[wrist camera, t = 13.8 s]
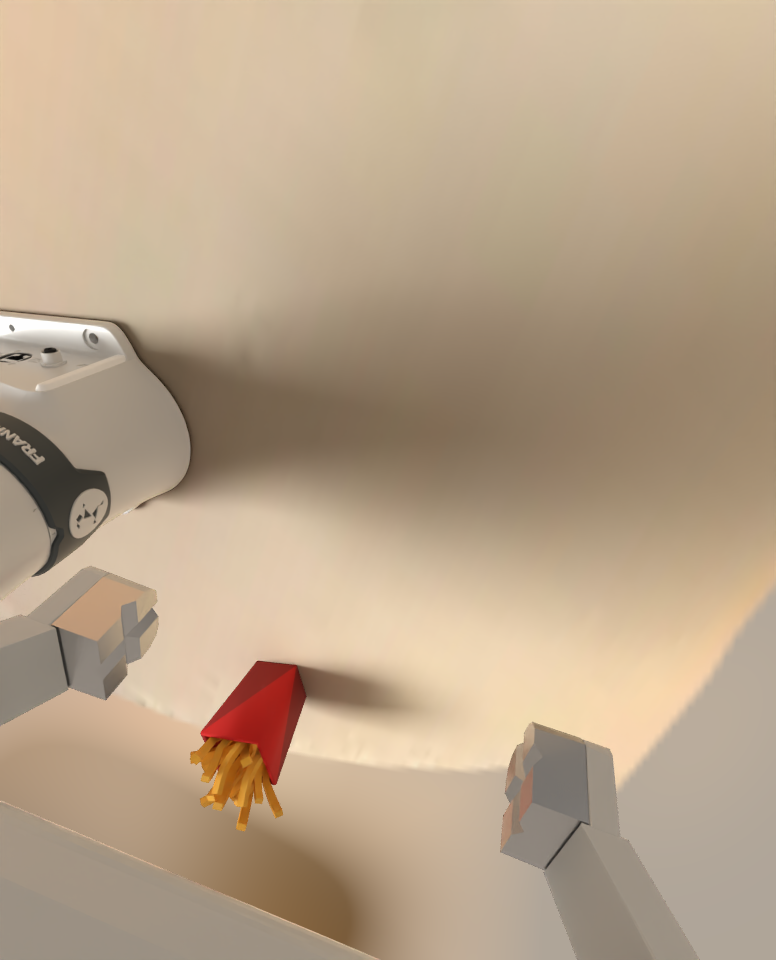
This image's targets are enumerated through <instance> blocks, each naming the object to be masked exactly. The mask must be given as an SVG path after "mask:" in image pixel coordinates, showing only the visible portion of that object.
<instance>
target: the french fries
mask: <svg viewBox="0 0 776 960" xmlns="http://www.w3.org/2000/svg"><path fill="white" fill-rule="evenodd" d="M305 699H306V693H305V690H304V687H303V684H302V681H301V678H300V674H299V671H298V668H297V665H289V664H280V663H271V662H262V661H257V662H256V663H255V664H254V666H253V667H252V668H251V669H250V671H249V672H248V673H247V675H246V676H245V677H244V678H243V680H242V681H241V682H240V683H239V685H238V686H237V687H236V688H235V690H234V691H233V692H232V693H231V695H230V696H229V697H228V698H227V700H226V701H225V702H224V703H223V705H222V706H221V707H220V708H219V710H218V711H217V712H216V714H215V715H214V716H213V717H212V719H211V720H210V721H209V722H208V724H207V725H206V726H205V727H204V729H203V730H202V731H201V736H202V737H203V740H204V742H205V743H204V745H203V746H202V747H201V748H200V749H199V750H198V751H194V752H191V758H190V760H191V764H192V763H195V764H196V765H197V764H198V763H199V762H201V764H202V768H203V770H204V773H203V775H202V778H201V781H202V782H206V783H209V781H210V780H211V779H212V777H213V776H214V774H215V772H216V770H218V773H217V776H216V778H215V782H214V786H213V787H212V789H211V790H210V791H209V793H208V794H207V795H206V796H204V797H203V798H200V801H201V805H202V806H203V807H206V806H208V805H210V804H212V803H214V804H213V809H216V810H220V811H221V810H222V809H223V807H224V805H225V804H226V801H227V800H228V798H229V797H230V798H231V799H232V800H233V801H234V804H235V805H236V806H237V807H241V810H240V814H239V818H238V823H237V826H236V829H238V830H241V831H245V829H246V826H247V822H248V817H249V812H250V807H251V802H252V797H253V793H254V798H255V803H259V804H262V801H263V793H262V783H263V787H264V791H265V794H266V797H267V799H268V802H269V805H270V807H271V809H272V812H273V814H274V816H275V818H277V817H280V816H282V815H283V812H282V808H281V807H280V805H279V802H278V800H277V798H276V795H275V793H274V791H273V788H272V786H271V784H272V785H276V784H277V781H278V778H279V775H280V772H281V769H282V766H283V763H284V760H285V757H286V755H287V752H288V749H289V746H290V743H291V740H292V737H293V734H294V731H295V728H296V725H297V722H298V720H299V717H300V714H301V711H302V708H303V705H304V702H305Z"/></svg>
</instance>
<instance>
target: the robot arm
mask: <svg viewBox="0 0 776 960" xmlns="http://www.w3.org/2000/svg"><path fill="white" fill-rule="evenodd" d="M96 336H97V337H98V339H97V338H96ZM190 452H191V449H190V438H189V433H188V429H187V426H186V423H185V420H184V418H183V415H182V413H181V411H180V409H179V407H178V405H177V404H176V402H175V400H174V399H173V397H172V396H171V394H170V393H169V391H168V390H167V389H166V387H165V386H164V385H163V384H162V383H161V382H160V381H159V379H158V378H157V377H156V376H155V375H154V374H153V373H152V372H151V371H150V370H149V369H148V368H147V367H146V366H145V365H144V364H143V363H142V362H141V361H140V360H139V358H138V357H137V355H136V353H135V351H134V349H133V348H132V346H131V344H130V342H129V341H128V339H127V337H126V336H125V334H124V333H123V331H122V330H121V329H120V328H119V327H118V326H117V325H115V324H114V323H111V322H107V321H97V320H87V319H77V318H67V317H57V316H46V315H36V314H26V313H16V312H6V311H0V602H1V601H2V600H3V599H4V598H6V597H7V596H8V595H9V594H10V593H12V592H13V591H14V590H15V589H16V588H18V587H19V586H20V585H21V584H23V583H24V582H25V581H26V580H28V579H29V578H30V577H34V576H38V575H41V574H43V573H45V572H47V571H48V570H50V569H51V568H52V567H54V566H55V565H56V564H58V563H59V562H61V561H62V560H63V559H64V558H66V557H67V556H68V555H70V554H71V553H72V552H73V551H75V550H76V549H77V548H78V547H80V546H81V545H82V544H83V543H84V542H85V541H86V540H87V539H88V538H89V537H90V536H91V535H92V534H93V533H94V532H95V531H96V530H97V529H98V528H100V527H101V526H103V525H105V524H106V523H108V522H110V521H111V520H113V519H115V518H116V517H118V516H119V515H121V514H127V513H129V512H131V511H132V510H134V509H135V508H137V507H138V506H139V505H140V504H141V503H143V502H145V501H147V500H149V499H151V498H153V497H155V496H158V495H160V494H163V493H165V492H167V491H169V490H171V489H173V488H174V487H175V486H177V485H178V484H179V483H180V481H181V480H182V479H183V477H184V476H185V474H186V472H187V469H188V466H189V462H190ZM156 603H157V594H156V590H153V589H151V588H148V587H145V586H143V585H140V584H138V583H135V582H132V581H130V580H127V579H125V578H122V577H119V576H117V575H114V574H112V573H109V572H106V571H103V570H101V569H98V568H95V567H92V566H89V567H87V568H84V569H82V570H80V571H79V572H78V573H77V574H76V575H75V576H73V577H72V578H71V579H70V580H69V581H68V582H66V583H65V584H64V585H63V586H62V587H61V588H59V589H58V590H57V591H56V592H55V593H54V594H52V595H51V596H50V597H49V598H48V599H47V600H45V601H44V602H43V603H42V604H41V605H40V606H38V607H37V608H36V609H35V610H34V611H33V612H31V613H30V614H29V615H28V616H27V617H26V616H23V615H18V616H15V617H12V618H9V619H6V620H3V621H0V726H1V725H3V724H5V723H7V722H9V721H11V720H13V719H14V718H16V717H18V716H20V715H22V714H24V713H26V712H28V711H29V710H31V709H33V708H35V707H37V706H39V705H41V704H43V703H44V702H46V701H48V700H50V699H52V698H54V697H56V696H57V695H60V694H61V693H63V692H65V691H67V690H68V687H69V688H72V689H75V690H77V691H80V692H83V693H86V694H89V695H92V696H95V697H97V698H100V699H104V700H107V698H108V697H109V696H110V695H111V694H112V692H113V691H114V690H115V689H116V688H117V687H118V685H119V684H120V683H121V682H122V681H123V679H124V678H125V677H126V676H127V667H128V664H129V663H131V662H134V661H136V660H138V659H141V658H142V657H143V655H144V654H145V653H146V652H147V650H148V649H149V648H150V646H151V644H152V642H153V640H154V638H155V636H156V634H157V629H158V625H159V624H158V615H157V614H156V613H155V611H154V610H153V608H152V607H153V606H154V605H155V604H156ZM505 794H506V796H507V798H508V800H509V802H510V805H509V807H508V809H507V811H506V812H505V814H504V815H503V824H502V837H501V851H500V852H502V853H504V854H506V855H509V856H511V857H514V858H516V859H518V860H521V861H523V862H526V863H528V864H531V865H533V866H535V867H538V868H540V869H542V870H545V872H544V875H545V877H546V880H547V882H548V885H549V888H550V890H551V893H552V896H553V898H554V900H555V903H556V906H557V909H558V911H559V914H560V916H561V919H562V922H563V924H564V926H565V929H566V932H567V934H568V937H569V940H570V942H571V945H572V947H573V950H574V953H575V955H576V958H577V960H700V959H699V957H698V956H697V954H696V952H695V951H694V949H693V947H692V946H691V944H690V942H689V941H688V939H687V938H686V936H685V934H684V932H683V931H682V929H681V927H680V926H679V924H678V922H677V921H676V919H675V917H674V916H673V914H672V912H671V911H670V909H669V907H668V906H667V904H666V902H665V900H664V899H663V897H662V895H661V894H660V892H659V891H658V889H657V887H656V885H655V884H654V882H653V880H652V879H651V877H650V875H649V874H648V872H647V870H646V869H645V867H644V865H643V864H642V862H641V861H640V859H639V857H638V855H637V854H636V852H635V850H634V849H633V847H632V845H631V844H630V842H629V840H627V839H624V838H622V837H620V827H619V817H618V807H617V797H616V786H615V776H614V766H613V756H612V753H611V751H610V749H608V748H606V747H603V746H600V745H597V744H594V743H591V742H588V741H585V740H582V739H581V738H579V737H576V736H573V735H570V734H567V733H564V732H561V731H558V730H555V729H552V728H549V727H546V726H543V725H540V724H537V723H534V722H532V723H530V724H529V725H528V727H527V728H526V730H525V732H524V743H522V744H519V745H517V747H516V749H515V751H514V753H513V755H512V758H511V761H510V764H509V768H508V773H507V779H506V788H505ZM0 960H380V959H378V958H375V957H373V956H370V955H368V954H366V953H363V952H361V951H359V950H356V949H354V948H351V947H349V946H346V945H344V944H342V943H339V942H337V941H335V940H332V939H330V938H328V937H325V936H322V935H320V934H318V933H316V932H313V931H311V930H308V929H306V928H304V927H301V926H299V925H296V924H294V923H292V922H289V921H287V920H285V919H282V918H280V917H277V916H275V915H273V914H270V913H268V912H266V911H263V910H261V909H258V908H256V907H254V906H251V905H249V904H247V903H244V902H242V901H239V900H237V899H235V898H232V897H230V896H227V895H225V894H223V893H220V892H218V891H216V890H213V889H211V888H208V887H206V886H203V885H201V884H199V883H196V882H194V881H191V880H189V879H187V878H185V877H182V876H180V875H177V874H175V873H173V872H170V871H168V870H165V869H163V868H161V867H158V866H156V865H154V864H151V863H149V862H146V861H144V860H141V859H139V858H137V857H134V856H132V855H130V854H127V853H125V852H122V851H120V850H118V849H115V848H113V847H111V846H108V845H106V844H103V843H101V842H99V841H96V840H94V839H91V838H89V837H87V836H84V835H82V834H80V833H77V832H75V831H72V830H70V829H68V828H65V827H63V826H60V825H58V824H56V823H53V822H50V821H48V820H46V819H44V818H41V817H39V816H37V815H34V814H32V813H30V812H27V811H25V810H22V809H20V808H18V807H15V806H13V805H10V804H8V803H6V802H3V801H1V800H0Z"/></svg>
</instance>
